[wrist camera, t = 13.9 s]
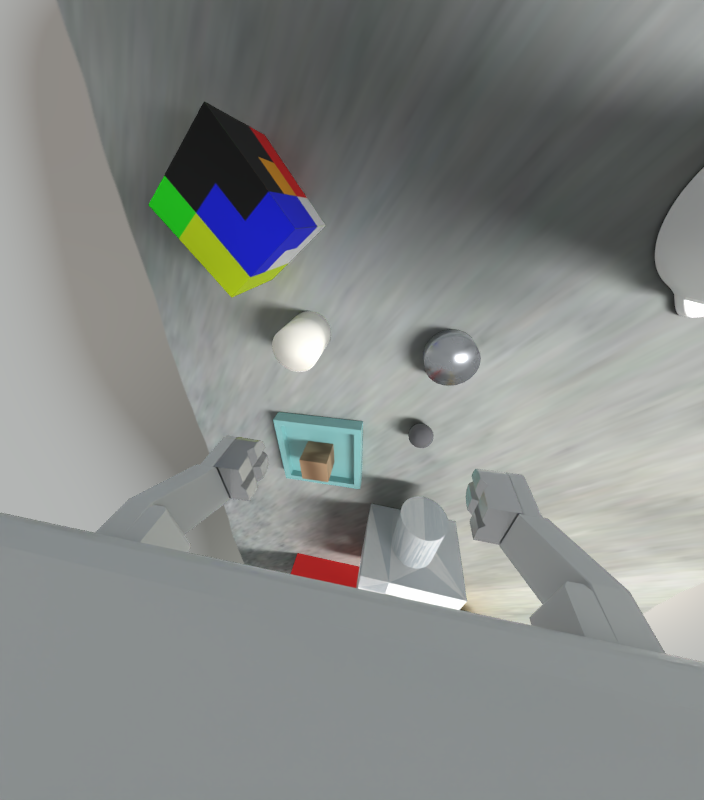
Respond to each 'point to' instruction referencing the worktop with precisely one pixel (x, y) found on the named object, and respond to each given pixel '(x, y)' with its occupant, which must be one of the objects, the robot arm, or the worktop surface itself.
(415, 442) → the rubber ball
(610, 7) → the worktop surface
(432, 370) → the grey metal dome
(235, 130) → the puzzle toy
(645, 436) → the worktop surface
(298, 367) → the ceramic jar
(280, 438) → the tray
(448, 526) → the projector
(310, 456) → the walnut block
